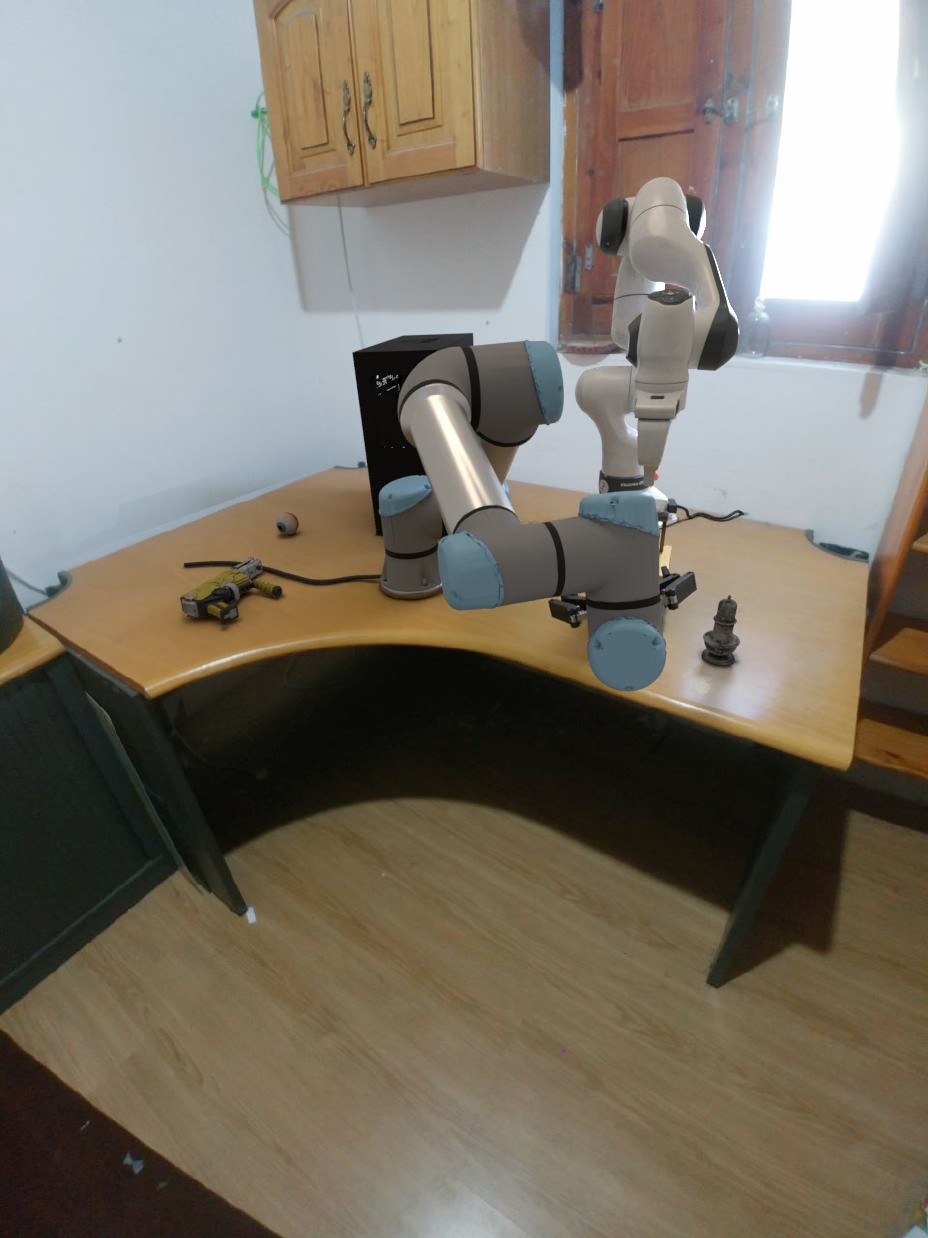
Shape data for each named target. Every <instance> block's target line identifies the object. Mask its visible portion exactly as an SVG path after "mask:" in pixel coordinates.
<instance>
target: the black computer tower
mask: <svg viewBox="0 0 928 1238" xmlns="http://www.w3.org/2000/svg"><path fill="white" fill-rule="evenodd" d="M466 346H475V345H474V333H473V332H462V333H434V334H433V333H432V334H407V335H406V334H405V335H404V334H403V335H399V336H397V337H395V338H391V339H388V340H386V341H382V342H380V343H376V344H373V345H370V346H367V347H364V348H361V349H358V350H355V351H352V352H351V354H352V361H353V367H354V376H355V384H356V391H357V399H358V406H359V407H358V408H359V415H360V421H361V428H362V436H363V444H364V452H365V458H366V459H365V461H366V466H367V474H368V481H369V489H370V496H371V503H372V504H371V505H372V511H373V518H374V519H373V520H374V527H375V535H376V536H383V530H382V521H381V516H380V514H379V509H380V507H379V493H380V491H381V490H382V488H383V487H384V486H386V485H387V484H389V483H390V482H392V481H395V480H397V479H400V478H404V477H408V476H415V475H418V476H421V475H425V476H427V475H426V473H425V470H424V467H423V464H422V462H421V459H420V456H419V454H418V451H417V448H416V447H414V446H413V445H412V444H410V443H409V441H408V440H407V439H406V437H405V436H404V434H403V431H402V428H401V425H400V422H399V418H398V400H399V395H400V392H401V389H402V386H403V384H404V383H405V381H406V379H407V377H408V376H409V374H410V373H411V372H412V370H413V369H414V368H415V367H416V366H417V365H418V364H419V363H420V362H421V361H423V360H424V359H425V358H426V357H428V356H430V355H431V354H433V353H435V352H437V351H440V350H443V349H446V348H450V347H466Z"/></svg>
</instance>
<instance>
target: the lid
mask: <svg viewBox="0 0 928 1238" xmlns="http://www.w3.org/2000/svg"><path fill="white" fill-rule="evenodd" d="M657 514H658V522H663V524H662V528H661V532H660V540H659V580H662V579H663V575H662V570H661V567H662V566H667V568H668V570H669V571H670V566H669V564H671V558H670V557H671V556H672V550H673V546H672V545H665V538H666V533H667V532H666V531H667V526H666V524H667V522H668V515H669V512H661V511H657Z"/></svg>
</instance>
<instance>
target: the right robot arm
mask: <svg viewBox="0 0 928 1238" xmlns="http://www.w3.org/2000/svg"><path fill="white" fill-rule="evenodd" d="M706 215H707V214H706V205H705V202H704V201H703V199H702V198H701V197H700V196H697V195H692V194H687V193H686V194H685V195H684V193H683V190H682V187H681V186H680V184H679V183H678V182H677V181H676V180H675V179H673V178H671V177H667V176H659V177H656V178H652V179H650V180H649V181H647V182H645V184H643V185H642V186H641V187H640V189H638V192H637V193H636V195H635V196H630V197H622V196H619V197H616V198H615V197H614V198H613V199H609V200H608V201H606V203H605V204H603V206H602V208H601V211H600V213H599V215H598V217H597V221H596V226H595V237H596V242H597V245H598V249H599V251H600V252H601V253H602V254H603V255H606V256H610V257H615V258H616V257H617V256H621V261H620V264H619V267H618V272H617V276H616V281H615V286H614V287H615V288H614V294H613V295H614V296H613V305H612V317H611V318H612V319H611V327H610V328H611V329H610V335H611V339H612V341H613V342H614V344H615V345H617V346H618V347H619V348H621V349H623V350H624V351H626V354H625V359H626V360H627V361H628V362H629V363H630V364H631V365H603V366H597V367H593V368H589V369H586V370H584V371H583V372H582V373H581V374H580V376H579V377H578V379H577V380H576V384H575V387H574V397H575V402H576V404H577V406H578V408H579V409H580V410H581V411H582V412H583V413H584V414H586V415H587V416H588V417H589V419H590V420H592V422H593V424H594V425H595V427H596V429H597V431H598V434H599V436H600V437H599V438H600V443H601V468H600V470H599V474H598V492H599V493H598V494H603V493H611V492H621V491H646V492H648V493H650V494H651V495H652V496H653V497H654V499H655V502H656V509H657V511H661V512H669V515H668V522H667V524H666V527H668V526H670V525H672V524H675V523H677V522H678V516H677V515H676V514H677V513H678V509H681V510H682V511H684V512H685V515H686V517H687V518H688V519H693V518H695V517H697V516H704V517H707V518H710V519H712V520H716V521H722V520H727V519H729V518H731V517H733V516H735V514H739V515H741V516H744V515H745V513H744V511H742V510H740V509H736V510H733V511H732V512H730V513H729V514H727V515H725V516H715V515H712V514H710V513H707V512H701V511H698V512H695V513H693V514H691V515H690V511H689V509H688V508H687V507H685V506H683V505H680V504H678V503H677V501H676V499H675V498H668V497H667V496H666V495H665V494H664V493H663V492H661V491H660V490H659V489H658V488H656V487H655V486H654V485H655V481H658V479H659V478H660V473H659V472H657V471H658V470H659V466H661V464H662V461H663V457H664V453H665V448H666V445H667V441H668V438H669V431H670V428H671V425H672V423H673V421H674V420H676V419H677V415H679V414H680V412H681V411H684V410H685V409H686V404H687V397H688V392H689V381H690V374H689V370H697V371H709V372H710V371H711V372H712V371H713V372H715V371H717V370H719V369H720V368H723V366H724V365H726V364H727V363H728V362H730V360H731V359H732V358H733V357H735V355H736V352H737V349H738V345H739V339H740V327H739V320H738V317H737V315H736V313H735V311H734V310H733V307H732V306H731V305H730V302H729V299H728V295H727V292H726V289H725V286H724V283H723V280H722V276H721V273H720V270H719V267H718V264H717V260H716V258H715V255H714V253H713V251H712V248H711V247H710V245H709V244H707V243H706V242H704V241H702V240H701V238H702V237H703V234H704V230H705V228H706V222H707V221H706V220H707V217H706ZM665 285H672V286H676V287H680V288H683V289H680V288H679V289H678V288H668V289H665ZM696 307H697V308H696ZM626 416H633V417H634V419H637V427H636V428H637V429H636V428H634V427H632V426H630V425H629V424H628V422H626V418H625V417H626ZM658 524H659V530H660V529H662V524H663V522H658Z"/></svg>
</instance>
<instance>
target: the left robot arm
mask: <svg viewBox="0 0 928 1238" xmlns="http://www.w3.org/2000/svg"><path fill="white" fill-rule="evenodd" d="M564 388H565V385H564V378H563V371H562V365H561V361H560V357H559V354H558V353H557V351H556V349H555V347H554V346H553V345H552V344H551V343H550V342H548V341H546V340H529V339H524V340H520V341H510V342H509V341H507V342H498V343H497V342H496V343H487V344H477V345H474V346H466V347H450V348H446V349H443V350H440V351H437V352H435V353H433V354H431V355H430V356H428V357H426V358H425V359H424V360H423V361H421V362H420V363H419V364H418V365H417V366H416V367H415V368H414V369H413V370H412V372H411V373H410V374H409V376H408V377H407V379H406V381H405V383H404V384H403V386H402V389H401V392H400V395H399V400H398V418H399V422H400V425H401V428H402V431H403V434H404V436H405V437H406V439H407V440H408V441H409V443H410V444H412V445H413V446H414V447H416V448H417V451H418V454H419V456H420V459H421V462H422V464H423V467H424V470H425V473H426V475H427V476H425V475H421V476H418V475H415V476H408V477H404V478H400V479H397V480H395V481H392V482H390V483H389V484H387V485H386V486H384V487H383V488H382V490H381V491H380V493H379V507H380V509H379V514H380V516H381V521H382V530H383V535H382V537H383V546H384V559H383V564H382V569H381V574H380V573H378V574H377V573H376V574H356V575H348V576H342V577H336V578H335V577H334V578H326V579H325V578H324V579H318V578H317V579H316V578H308V577H304V576H301V575H297V574H294V573H289V572H287V571H283V570H281V569H277V568H274V567H269V566H265V565H262V570H263V571H265V572H269V573H273V574H276V575H279V576H283V577H285V578H289V579H293V580H297V581H300V582H304V583H308V584H315V585H316V584H317V585H328V584H337V583H342V582H350V581H358V580H379V581H380V589H381V591H382V592H383V593H384V594H385V595H387V596H389V597H392V598H395V599H398V600H399V599H400V600H420V599H426V598H429V597H433V596H436V595H438V594H440V593H443V596H444V599H445V602H446V603H447V605H448V606H449V607H450V608H452V610H456V611H473V610H483V609H484V610H485V609H487V610H491V609H492V610H493V609H497V608H499V607H504V606H510V605H511V606H512V605H515V604H522V603H527V602H534V601H540V600H544V599H548V601H547V602H548V607H549V610H550V611H549V612H550V615H551V618H553V619H556V620H558V621H561V622H563V623H565V624H568V625H570V628H571V629H578V628H579V627H581V625H583V624H584V621H587V635H588V641H587V643H586V652H587V653H586V654H587V660H588V663H589V666H590V670H591V671H592V673H593V675H594V676H595V677H596V679H597V680H598V681H599V682H601V683H602V684H603V685H605V686H606V687H608V688H610V689H612V690H615V691H619V692H628V693H629V692H635V691H639V690H643V689H646V688H647V687H649V686H651V685H652V684H653V683H654V682H656V680H657V679H658V678H659V677H660V676H661V675H662V673H663V672H664V668H665V666H666V662H667V650H666V649H667V641H666V639H665V638H664V634H663V632H664V631H663V616H662V605H664V609H667V610H669V611H676V610H678V609H679V605H680V604H681V603H682V602H683V601H685V600H686V599H688V597H689V596H691V595H692V594H693V593H694V592H696V591H697V590H698V587H697V582H696V574H695V572H694V571H687V572H685V573H684V574H682V575H681V574H680V573H679V572H671V573H670V569H669V570H668V568H667V566H662V567H661V570H662V575H663V579H662V580H660V581H659V545H660V539H661V532H660V529H659V524H658V514H657V509H656V502H655V499H654V497H653V496H652V495H651V494H650V493H648V492H646V491H621V492H611V493H603V494H599V493H596V494H592V495H591V494H590V495H587V496H584V497H582V498H581V500H580V501H579V505H578V512H577V516H573V517H572V516H571V517H568V518H562V519H554V520H550V521H542V522H535V523H527V524H522V522H521V519H519V517H518V515H517V513H516V511H515V509H514V507H513V505H512V503H511V494H510V489H509V486H508V484H507V481H506V479H507V476H508V474H509V471H510V469H511V466H512V465H513V462H514V460H515V457H516V455H517V453H518V451H519V448H520V447H521V446H523V445H525V444H527V442H529V441H530V440H531V439H532V438H533V437H534V436H535V434H536V432H537V430H538V428H539V426H542V425H546V426H550V425H551V424H556V423H558V422H559V421H560V419H561V418H562V415H563V411H564V404H565V403H564V402H565V389H564ZM439 539H440V540H439ZM242 562H243V561H236V560H204V561H191V562H183V567H185V568H187V567H200V566H201V567H202V566H237V565H238V564H240V563H242ZM256 569H257V570H261V564H259V565H258V566H256ZM583 593H584V594H585V596H580V595H579V594H583ZM556 597H557V598H559V597H560V599H557V598H556ZM549 598H550V599H549Z"/></svg>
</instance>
